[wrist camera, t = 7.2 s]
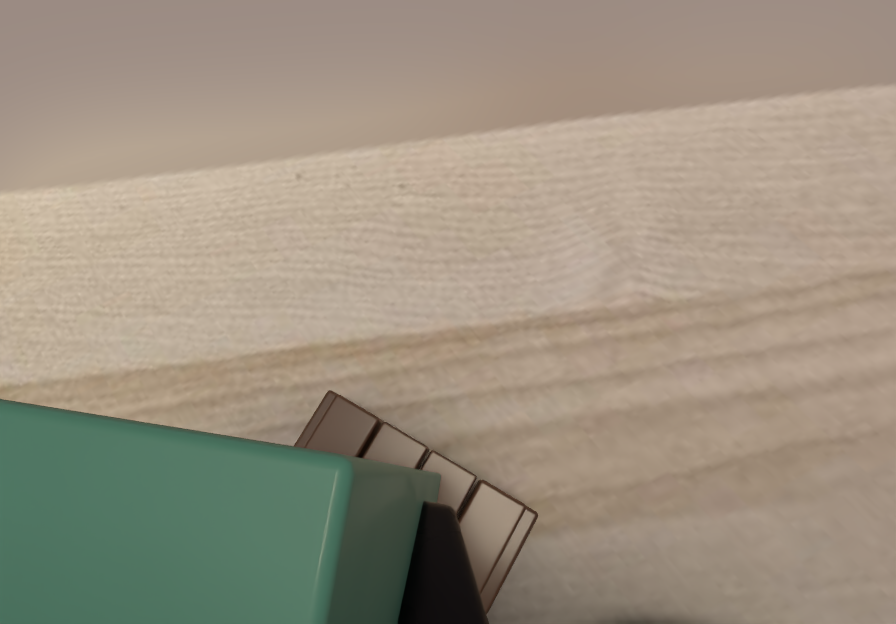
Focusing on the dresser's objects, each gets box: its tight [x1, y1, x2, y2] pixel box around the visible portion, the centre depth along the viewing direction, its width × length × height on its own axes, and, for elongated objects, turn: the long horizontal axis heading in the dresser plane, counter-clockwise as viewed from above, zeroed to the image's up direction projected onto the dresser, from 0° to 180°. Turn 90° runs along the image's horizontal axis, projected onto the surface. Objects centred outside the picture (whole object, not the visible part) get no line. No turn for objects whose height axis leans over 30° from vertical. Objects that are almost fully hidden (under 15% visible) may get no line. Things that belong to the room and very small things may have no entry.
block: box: [0, 399, 441, 624], centre depth 8 cm, size 4×3×13 cm
